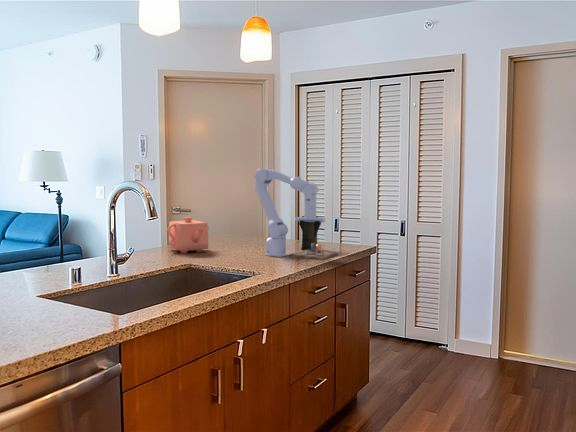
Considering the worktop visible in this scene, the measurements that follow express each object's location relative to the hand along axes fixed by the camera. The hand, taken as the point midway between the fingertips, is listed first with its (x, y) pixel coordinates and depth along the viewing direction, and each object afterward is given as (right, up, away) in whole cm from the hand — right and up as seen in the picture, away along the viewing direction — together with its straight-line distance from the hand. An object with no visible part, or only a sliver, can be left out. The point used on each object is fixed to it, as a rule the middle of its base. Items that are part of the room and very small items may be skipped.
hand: (309, 236), depth 248 cm
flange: (+3, -8, +5) cm, 10 cm away
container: (+1, -8, +28) cm, 29 cm away
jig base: (+2, -10, +7) cm, 13 cm away
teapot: (-61, -9, +18) cm, 64 cm away
